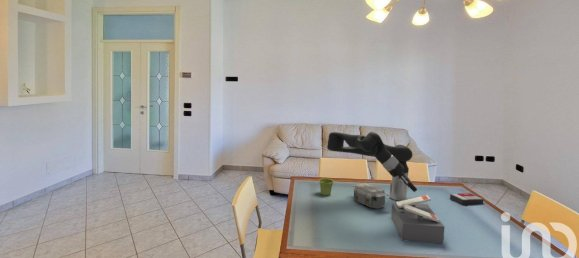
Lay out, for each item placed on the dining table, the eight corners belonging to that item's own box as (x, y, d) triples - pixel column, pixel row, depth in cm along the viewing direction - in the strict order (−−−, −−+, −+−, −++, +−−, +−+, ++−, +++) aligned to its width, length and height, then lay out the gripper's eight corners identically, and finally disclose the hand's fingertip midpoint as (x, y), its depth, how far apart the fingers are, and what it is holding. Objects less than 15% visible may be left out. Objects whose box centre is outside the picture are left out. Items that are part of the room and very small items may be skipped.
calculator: (484, 198, 205) (463, 199, 202) (483, 205, 206) (462, 206, 202) (470, 192, 216) (450, 192, 212) (469, 199, 217) (449, 199, 213)
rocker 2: (402, 205, 163) (403, 203, 163) (434, 217, 162) (435, 215, 161) (405, 209, 157) (405, 207, 157) (438, 222, 156) (439, 220, 156)
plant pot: (334, 192, 219) (335, 179, 218) (331, 197, 211) (331, 183, 209) (320, 190, 222) (320, 178, 221) (316, 195, 214) (317, 181, 212)
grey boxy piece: (375, 212, 186) (375, 194, 186) (347, 198, 213) (347, 183, 212) (392, 209, 191) (393, 192, 190) (363, 196, 217) (363, 181, 216)
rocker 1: (396, 203, 178) (396, 201, 178) (427, 196, 176) (427, 194, 176) (398, 208, 172) (398, 206, 172) (430, 200, 170) (430, 198, 170)
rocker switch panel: (391, 216, 183) (392, 197, 182) (426, 218, 181) (427, 200, 179) (401, 240, 155) (403, 218, 154) (443, 243, 153) (445, 221, 152)
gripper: (384, 167, 180) (407, 191, 180) (388, 173, 167) (412, 199, 167) (395, 157, 178) (418, 182, 179) (400, 163, 166) (424, 190, 166)
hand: (415, 190), depth 173 cm, fingers closed
